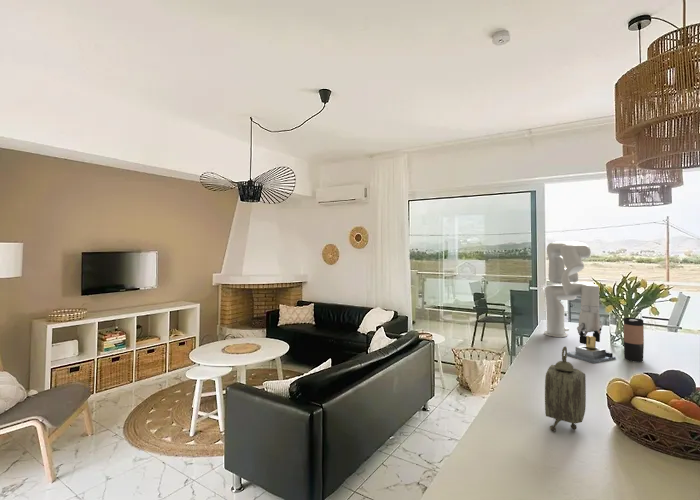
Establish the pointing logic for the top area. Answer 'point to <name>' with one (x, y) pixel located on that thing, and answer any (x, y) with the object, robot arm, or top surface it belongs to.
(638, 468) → the top surface
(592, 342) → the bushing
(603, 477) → the top surface
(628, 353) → the travel mug
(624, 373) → the top surface
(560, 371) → the rustic cowbell
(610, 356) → the jig
